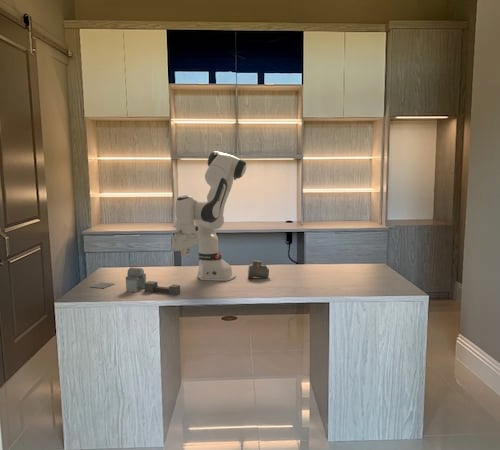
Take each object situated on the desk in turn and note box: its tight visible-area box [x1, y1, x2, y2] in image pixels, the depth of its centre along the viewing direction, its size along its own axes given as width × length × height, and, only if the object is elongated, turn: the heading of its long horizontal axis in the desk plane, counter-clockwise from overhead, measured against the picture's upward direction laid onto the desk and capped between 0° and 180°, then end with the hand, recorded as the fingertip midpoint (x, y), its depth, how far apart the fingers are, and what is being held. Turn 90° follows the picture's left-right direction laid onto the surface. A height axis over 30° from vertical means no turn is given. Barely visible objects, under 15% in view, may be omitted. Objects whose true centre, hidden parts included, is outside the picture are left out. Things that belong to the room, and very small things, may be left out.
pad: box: [89, 282, 115, 290], centre depth 238 cm, size 9×9×1 cm
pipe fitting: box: [247, 260, 270, 279], centre depth 251 cm, size 12×8×10 cm
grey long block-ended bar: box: [143, 280, 181, 296], centre depth 225 cm, size 20×4×4 cm, turn 69°
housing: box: [125, 266, 147, 293], centre depth 230 cm, size 6×9×12 cm, turn 159°
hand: (186, 257), depth 217 cm, fingers closed
